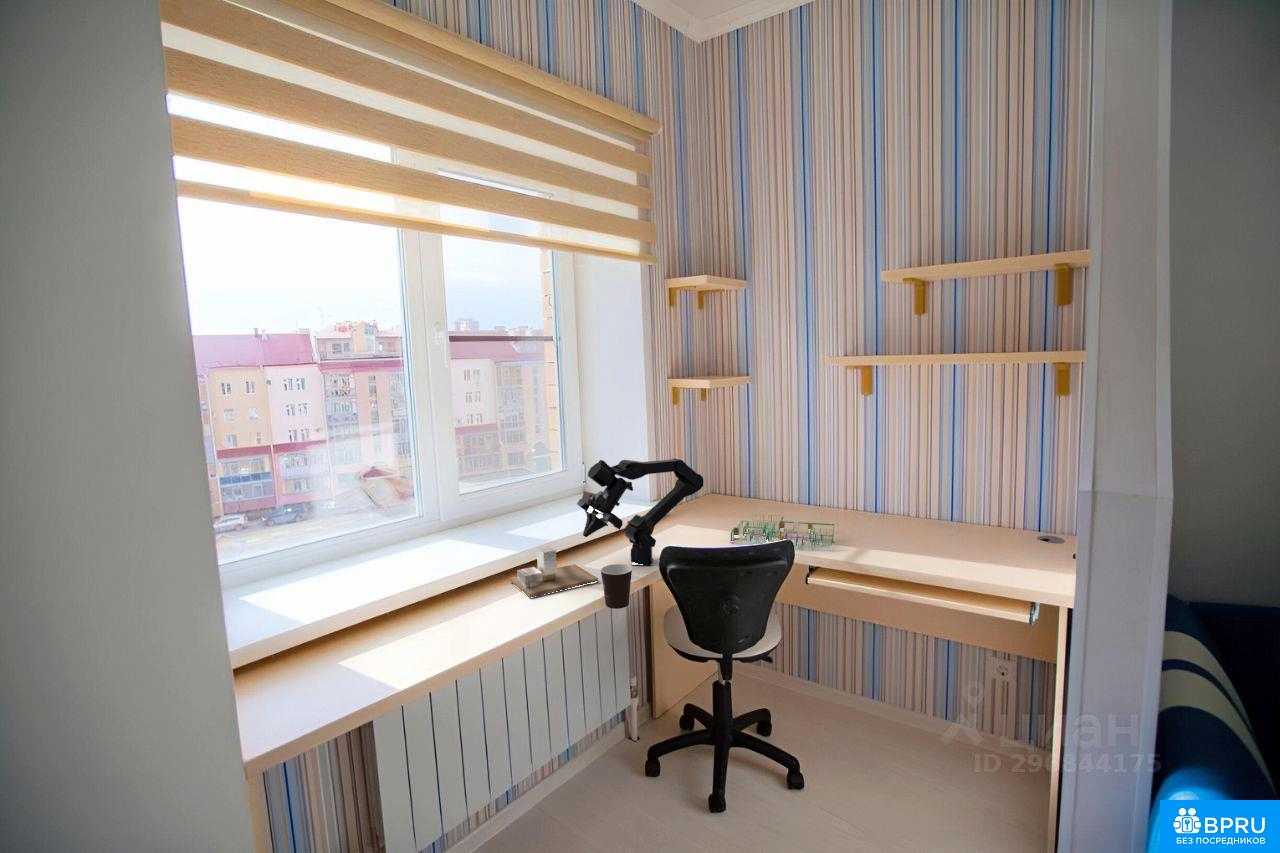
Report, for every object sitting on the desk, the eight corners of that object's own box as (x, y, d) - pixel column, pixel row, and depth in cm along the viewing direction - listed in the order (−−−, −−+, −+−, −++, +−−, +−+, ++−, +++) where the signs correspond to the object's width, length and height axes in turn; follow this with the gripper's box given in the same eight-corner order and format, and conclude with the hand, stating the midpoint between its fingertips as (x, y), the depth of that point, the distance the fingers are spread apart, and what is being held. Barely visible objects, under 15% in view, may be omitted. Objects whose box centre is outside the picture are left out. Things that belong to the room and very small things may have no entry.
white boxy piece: (550, 574, 195) (549, 546, 194) (556, 579, 191) (555, 550, 190) (522, 580, 191) (521, 551, 190) (528, 585, 186) (527, 555, 185)
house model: (730, 546, 228) (730, 533, 228) (744, 525, 256) (744, 513, 256) (832, 553, 217) (832, 540, 217) (834, 530, 245) (835, 518, 244)
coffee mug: (626, 611, 170) (625, 575, 169) (596, 608, 173) (595, 572, 172) (640, 596, 181) (639, 562, 180) (612, 593, 184) (611, 559, 183)
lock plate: (574, 568, 206) (574, 553, 205) (598, 582, 192) (597, 566, 192) (509, 582, 194) (509, 566, 194) (529, 598, 181) (529, 581, 180)
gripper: (580, 474, 205) (552, 515, 201) (613, 489, 190) (583, 534, 187) (601, 491, 211) (575, 531, 208) (635, 507, 197) (607, 550, 193)
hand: (584, 536), depth 199 cm, fingers closed
